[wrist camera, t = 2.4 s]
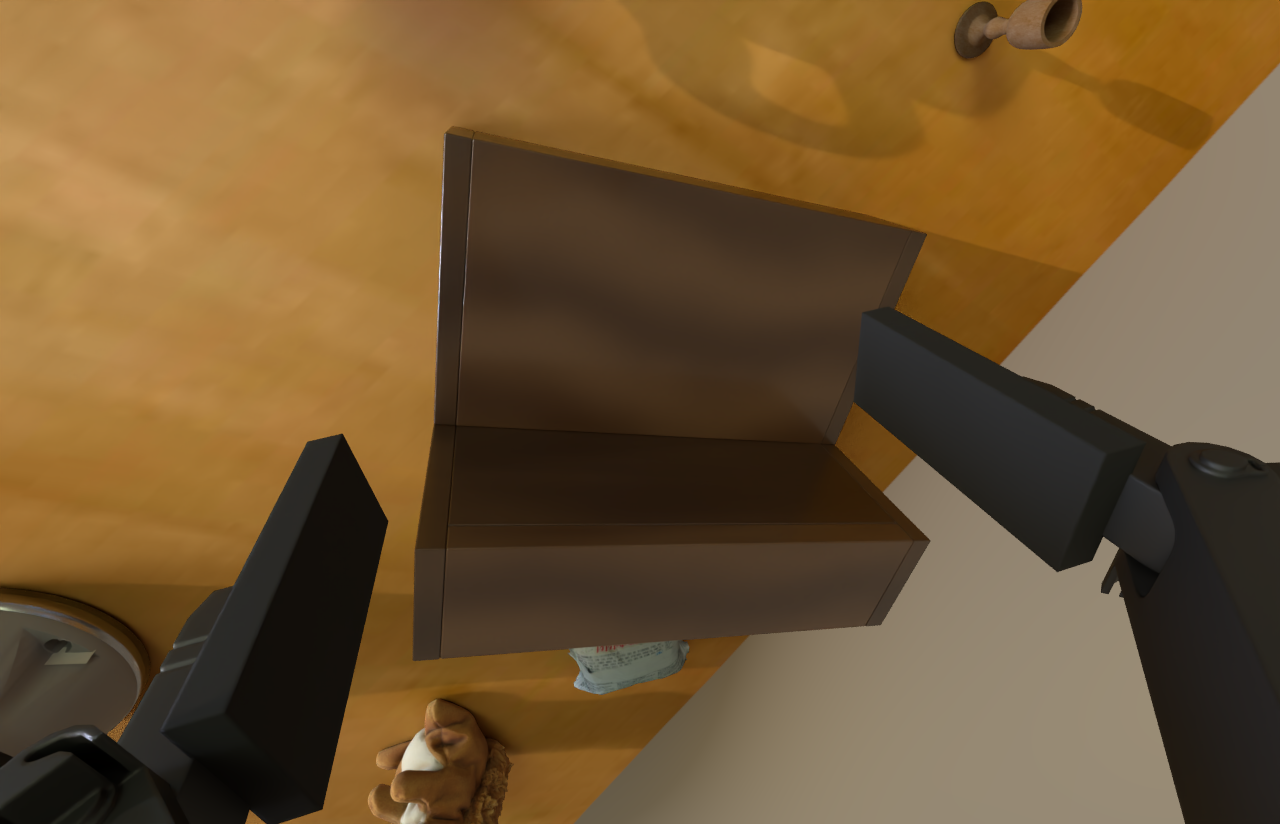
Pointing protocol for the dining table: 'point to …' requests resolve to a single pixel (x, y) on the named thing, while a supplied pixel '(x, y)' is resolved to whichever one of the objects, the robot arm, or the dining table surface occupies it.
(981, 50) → the place setting
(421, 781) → the stuffed squirrel
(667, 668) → the packaged food
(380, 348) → the dining table surface
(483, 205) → the stepped stand
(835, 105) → the dining table surface
